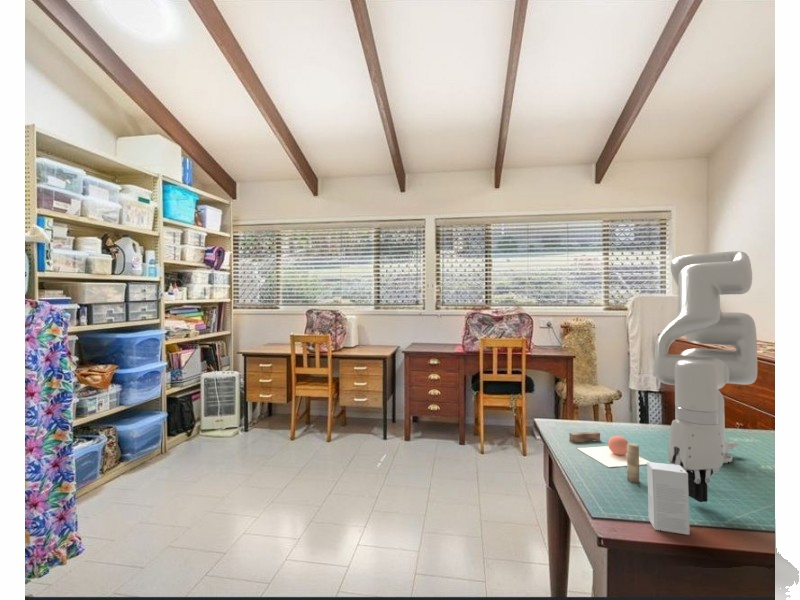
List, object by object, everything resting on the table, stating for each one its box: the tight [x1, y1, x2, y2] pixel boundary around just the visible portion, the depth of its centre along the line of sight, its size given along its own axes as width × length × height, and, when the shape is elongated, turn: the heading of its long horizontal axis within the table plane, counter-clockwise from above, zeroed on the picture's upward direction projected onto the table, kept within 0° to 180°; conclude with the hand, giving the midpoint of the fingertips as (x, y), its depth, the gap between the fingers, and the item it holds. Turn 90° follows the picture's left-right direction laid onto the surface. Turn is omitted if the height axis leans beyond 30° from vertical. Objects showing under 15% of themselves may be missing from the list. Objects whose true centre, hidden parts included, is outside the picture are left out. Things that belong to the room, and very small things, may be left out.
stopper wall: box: [569, 431, 601, 443], centre depth 125 cm, size 10×2×2 cm, turn 99°
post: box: [626, 442, 640, 484], centre depth 96 cm, size 3×3×9 cm
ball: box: [607, 435, 629, 455], centre depth 113 cm, size 6×6×6 cm
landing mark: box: [576, 445, 650, 469], centre depth 112 cm, size 14×14×1 cm
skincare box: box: [646, 461, 691, 536], centre depth 76 cm, size 6×4×12 cm
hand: (697, 498), depth 84 cm, fingers closed
